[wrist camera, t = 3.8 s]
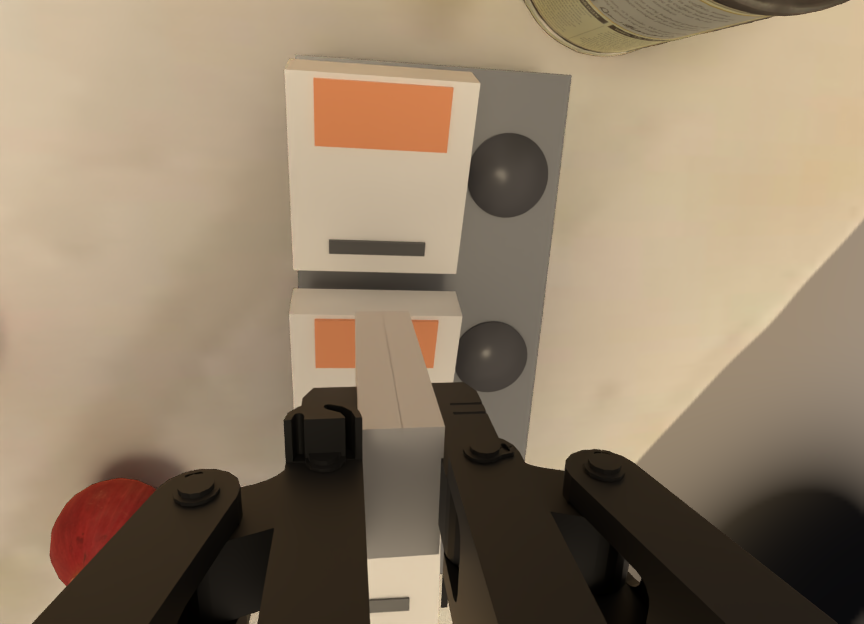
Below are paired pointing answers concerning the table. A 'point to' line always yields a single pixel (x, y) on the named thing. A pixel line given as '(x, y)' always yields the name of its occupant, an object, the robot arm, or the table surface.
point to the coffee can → (652, 20)
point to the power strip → (494, 240)
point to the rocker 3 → (404, 589)
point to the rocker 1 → (378, 165)
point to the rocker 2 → (335, 333)
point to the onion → (93, 522)
